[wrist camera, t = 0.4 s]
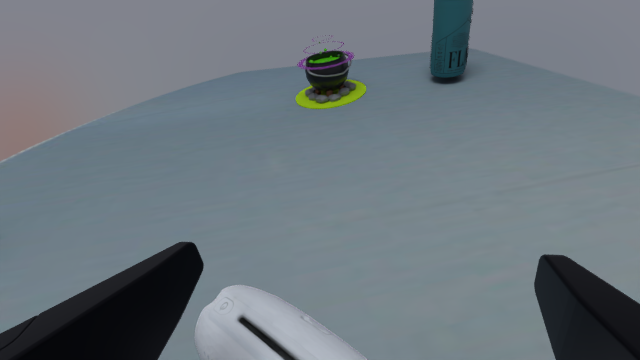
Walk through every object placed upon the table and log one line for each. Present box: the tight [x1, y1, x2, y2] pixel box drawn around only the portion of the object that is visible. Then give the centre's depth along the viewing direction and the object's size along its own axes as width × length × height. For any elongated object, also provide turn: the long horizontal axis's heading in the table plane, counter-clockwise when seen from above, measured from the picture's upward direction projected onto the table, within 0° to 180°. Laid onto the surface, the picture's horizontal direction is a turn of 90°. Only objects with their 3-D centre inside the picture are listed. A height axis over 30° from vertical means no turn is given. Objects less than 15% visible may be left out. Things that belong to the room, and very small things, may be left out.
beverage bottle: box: [430, 0, 473, 77], centre depth 53 cm, size 6×7×20 cm
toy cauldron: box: [296, 42, 366, 109], centre depth 60 cm, size 15×15×11 cm
